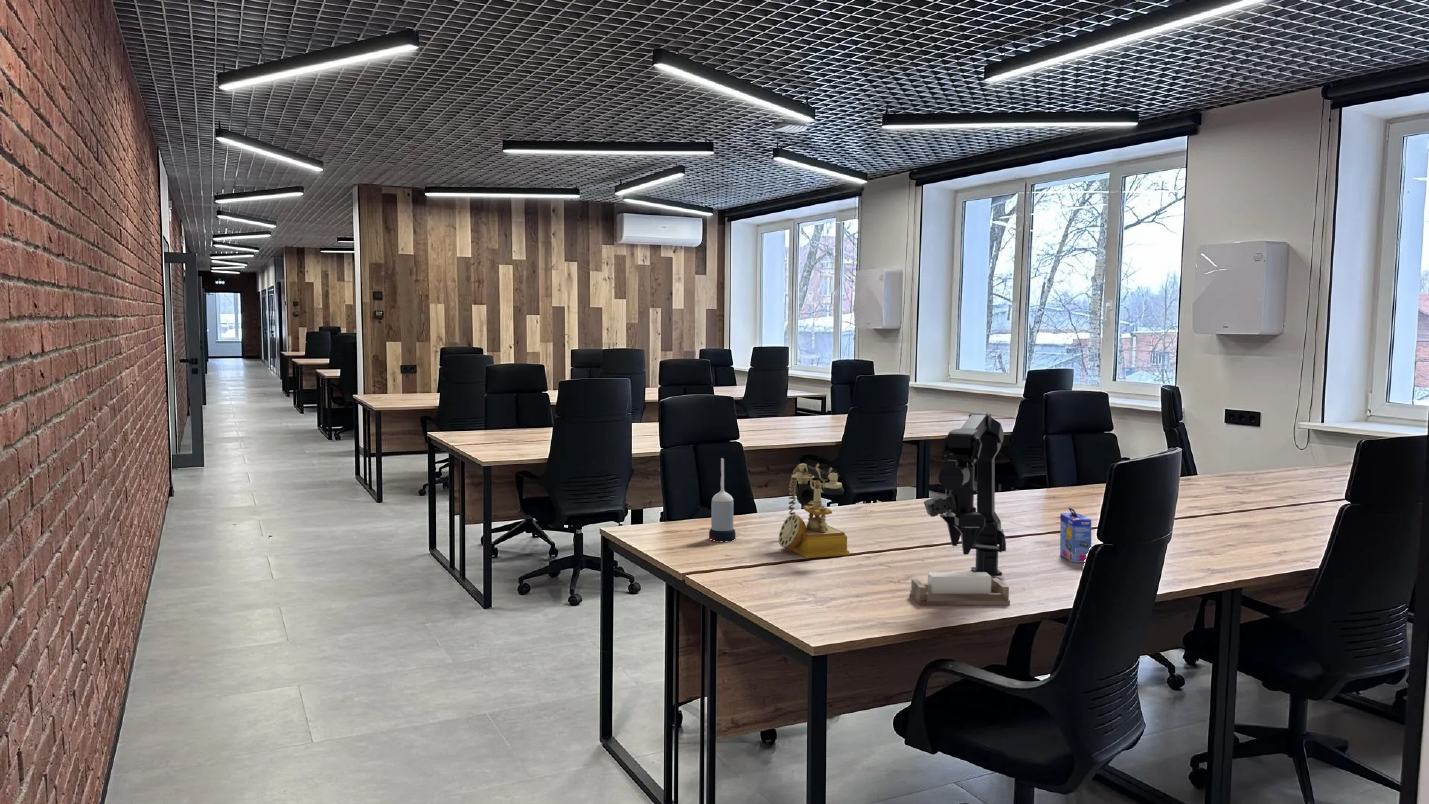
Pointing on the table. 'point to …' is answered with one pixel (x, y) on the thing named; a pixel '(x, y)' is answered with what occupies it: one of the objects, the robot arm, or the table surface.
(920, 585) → the tray
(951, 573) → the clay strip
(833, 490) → the rotary telephone
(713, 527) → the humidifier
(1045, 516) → the table surface
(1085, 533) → the ink cartridge box
